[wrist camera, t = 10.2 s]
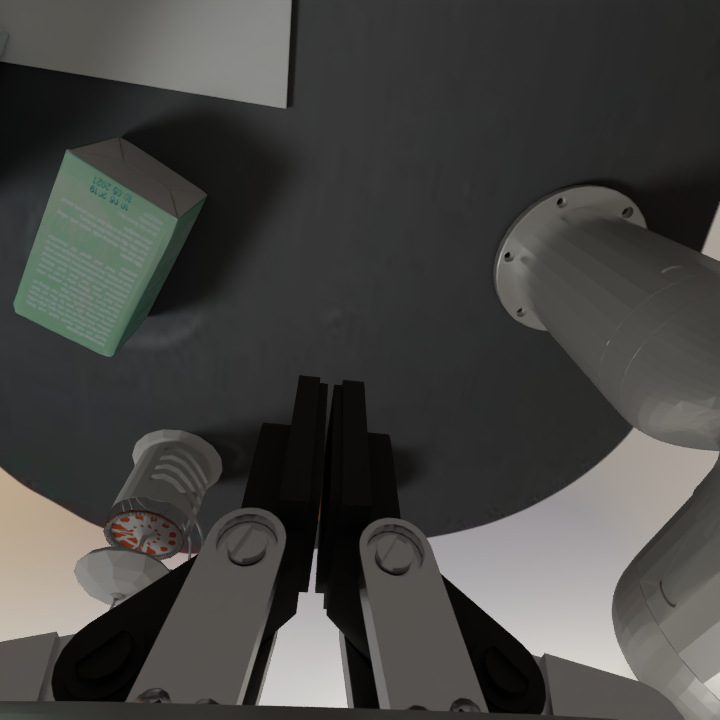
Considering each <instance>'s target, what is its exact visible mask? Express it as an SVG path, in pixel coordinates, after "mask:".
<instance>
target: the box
mask: <svg viewBox="0 0 720 720" xmlns="http://www.w3.org/2000/svg"><path fill="white" fill-rule="evenodd" d="M206 197H207V194H206V193H205V192H204V191H202V190H201V189H200V188H198V187H197V186H195V185H194V184H192V183H191V182H189V181H188V180H186V179H185V178H183V177H182V176H180V175H179V174H177V173H176V172H174V171H173V170H171V169H170V168H168V167H167V166H165V165H164V164H162V163H161V162H159V161H158V160H157V159H155V158H154V157H152V156H151V155H149V154H148V153H146V152H144V151H143V150H141V149H140V148H138V147H136V146H135V145H133V144H132V143H130V142H128V141H127V140H125V139H122V138H120V137H114V138H110V139H106V140H102V141H98V142H95V143H91V144H87V145H83V146H79V147H75V148H71V149H67V150H66V152H65V155H64V158H63V161H62V163H61V166H60V169H59V172H58V175H57V178H56V181H55V184H54V187H53V189H52V192H51V195H50V198H49V201H48V204H47V207H46V210H45V213H44V216H43V218H42V221H41V224H40V227H39V230H38V233H37V236H36V239H35V242H34V244H33V247H32V250H31V253H30V256H29V259H28V262H27V265H26V268H25V271H24V274H23V277H22V280H21V283H20V286H19V289H18V292H17V295H16V298H15V300H14V303H13V305H14V309H15V311H16V313H18V314H20V315H22V316H24V317H26V318H28V319H30V320H32V321H34V322H36V323H38V324H40V325H42V326H44V327H46V328H48V329H50V330H52V331H54V332H56V333H58V334H60V335H62V336H64V337H66V338H69V339H71V340H73V341H75V342H77V343H79V344H81V345H83V346H85V347H88V348H89V349H91V350H93V351H95V352H97V353H99V354H102V355H104V356H114V355H115V354H116V353H117V352H118V350H119V349H120V348H121V347H122V346H123V345H124V343H125V342H126V341H127V340H128V339H129V338H130V336H131V335H132V334H133V333H134V332H135V331H136V329H137V328H138V327H139V326H140V324H141V323H142V322H143V321H144V320H145V319H146V317H147V315H148V314H149V312H150V310H151V308H152V306H153V304H154V302H155V300H156V298H157V296H158V294H159V292H160V290H161V288H162V286H163V284H164V282H165V280H166V278H167V276H168V274H169V272H170V271H171V269H172V267H173V265H174V263H175V261H176V259H177V257H178V255H179V253H180V251H181V249H182V247H183V245H184V243H185V241H186V239H187V237H188V235H189V233H190V231H191V229H192V227H193V225H194V223H195V220H196V218H197V216H198V214H199V212H200V210H201V208H202V206H203V204H204V202H205V200H206Z"/></svg>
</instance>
